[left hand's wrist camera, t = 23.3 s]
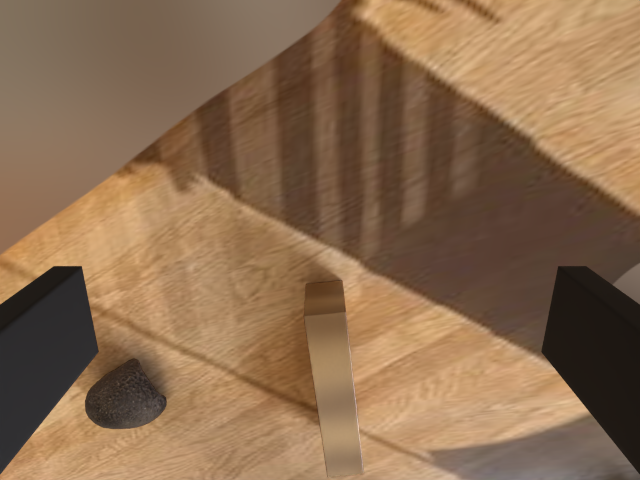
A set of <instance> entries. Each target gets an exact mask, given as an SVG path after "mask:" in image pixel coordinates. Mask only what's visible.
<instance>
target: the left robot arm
mask: <svg viewBox="0 0 640 480" xmlns="http://www.w3.org/2000/svg"><path fill="white" fill-rule="evenodd" d="M98 352H99V351H98V346H97V341H96V336H95V331H94V326H93V321H92V316H91V311H90V306H89V301H88V296H87V291H86V286H85V281H84V275H83V270H82V266H54V267H52V268H51V269H49V270H48V271H47V272H45V273H44V274H42V275H41V276H40V277H38V278H37V279H35V280H34V281H33V282H31V283H30V284H28V285H27V286H26V287H24V288H23V289H21V290H20V291H19V292H17V293H16V294H14V295H13V296H12V297H10V298H9V299H7V300H6V301H5V302H3V303H2V304H0V474H1V473H2V472H3V470H4V469H5V468H6V467H7V465H8V464H9V463H10V462H11V460H12V459H13V458H14V457H15V455H16V454H17V453H18V452H19V450H20V449H21V448H22V447H23V445H24V444H25V443H26V442H27V440H28V439H29V438H30V437H31V435H32V434H33V433H34V432H35V430H36V429H37V428H38V427H39V425H40V424H41V423H42V422H43V420H44V419H45V418H46V417H47V415H48V414H49V413H50V412H51V410H52V409H53V408H54V407H55V406H56V404H57V403H58V402H59V401H60V399H61V398H62V397H63V396H64V394H65V393H66V392H67V391H68V389H69V388H70V387H71V386H72V384H73V383H74V382H75V381H76V379H77V378H78V377H79V376H80V374H81V373H82V372H83V371H84V369H85V368H86V367H87V366H88V364H89V363H90V362H91V361H92V359H93V358H94V357H95V356H96V354H97V353H98ZM541 352H542V353H543V354H544V356H545V357H546V358H547V359H548V361H549V362H550V363H551V364H552V366H553V367H554V368H555V369H556V371H557V372H558V373H559V374H560V376H561V377H562V378H563V379H564V381H565V382H566V383H567V384H568V386H569V387H570V388H571V389H572V391H573V392H574V393H575V394H576V396H577V397H578V398H579V399H580V401H581V402H582V403H583V404H584V406H585V407H586V408H587V409H588V410H589V412H590V413H591V414H592V415H593V417H594V418H595V419H596V420H597V422H598V423H599V424H600V425H601V427H602V428H603V429H604V430H605V432H606V433H607V434H608V435H609V437H610V438H611V439H612V440H613V442H614V443H615V444H616V445H617V447H618V448H619V449H620V450H621V452H622V453H623V454H624V455H625V457H626V458H627V459H628V460H629V462H630V463H631V464H632V465H633V467H634V468H635V469H636V470H637V472H638V473H639V474H640V305H639V304H638V303H637V302H635V301H634V300H633V299H631V298H630V297H628V296H627V295H626V294H624V293H623V292H621V291H620V290H619V289H617V288H616V287H614V286H613V285H612V284H610V283H609V282H607V281H606V280H605V279H603V278H602V277H600V276H599V275H598V274H596V273H595V272H593V271H592V270H591V269H589V268H588V267H586V266H558V270H557V275H556V281H555V286H554V291H553V296H552V301H551V306H550V311H549V316H548V321H547V326H546V331H545V336H544V341H543V346H542V351H541Z"/></svg>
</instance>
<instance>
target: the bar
mask: <svg viewBox="0 0 640 480" xmlns="http://www.w3.org/2000/svg"><path fill="white" fill-rule="evenodd" d="M304 321H305V328H306V335H307V342H308V349H309V355H310V362H311V369H312V376H313V382H314V389H315V396H316V403H317V409H318V416H319V423H320V430H321V436H322V443H323V450H324V457H325V463H326V470H327V477H339V476H350V475H362V474H364V471H363V462H362V453H361V444H360V435H359V426H358V417H357V408H356V399H355V390H354V381H353V371H352V362H351V353H350V344H349V335H348V326H347V317H346V308H345V299H344V290H343V281H342V280H340V281H331V282H321V283H312V284H306V290H305V305H304Z"/></svg>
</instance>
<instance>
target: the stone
mask: <svg viewBox="0 0 640 480" xmlns="http://www.w3.org/2000/svg"><path fill="white" fill-rule="evenodd" d="M165 407H166V397H164V396H163V395H160V394H159V393H158V392H157V391H156V390H155V388H154V387H153V386H152V384H151V382H150V381H149V380H148V378H147V377H146V375H145V374H144V372H143V371H142V369H141V367H140V363H139V361H138V360H137V359H132V360H129V361H128V362H126V363H125V364H123V365H122V366H120V367H119V368H117V369H116V370H114V371H111V372H109V373H108V374H106V375H105V376H104V377H103V378H101V379H100V380H99V381H98V382H97V383H96V384H94V385H93V386H92V387H91V389H90V390H89V391H88V393H87V396H86V400H85V409H86V413H87V415H88V417H89V418H90V419H91V420H92V421H93V422H94V423H95V424H97V425H99V426H101V427H103V428H110V429H130V428H135V427H139V426H143V425H145V424H148V423H150V422H151V421H153V420H154V419H155V418H157V417H158V416H159V415H160V414H161V413H162V412H163V410H164V409H165Z"/></svg>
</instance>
